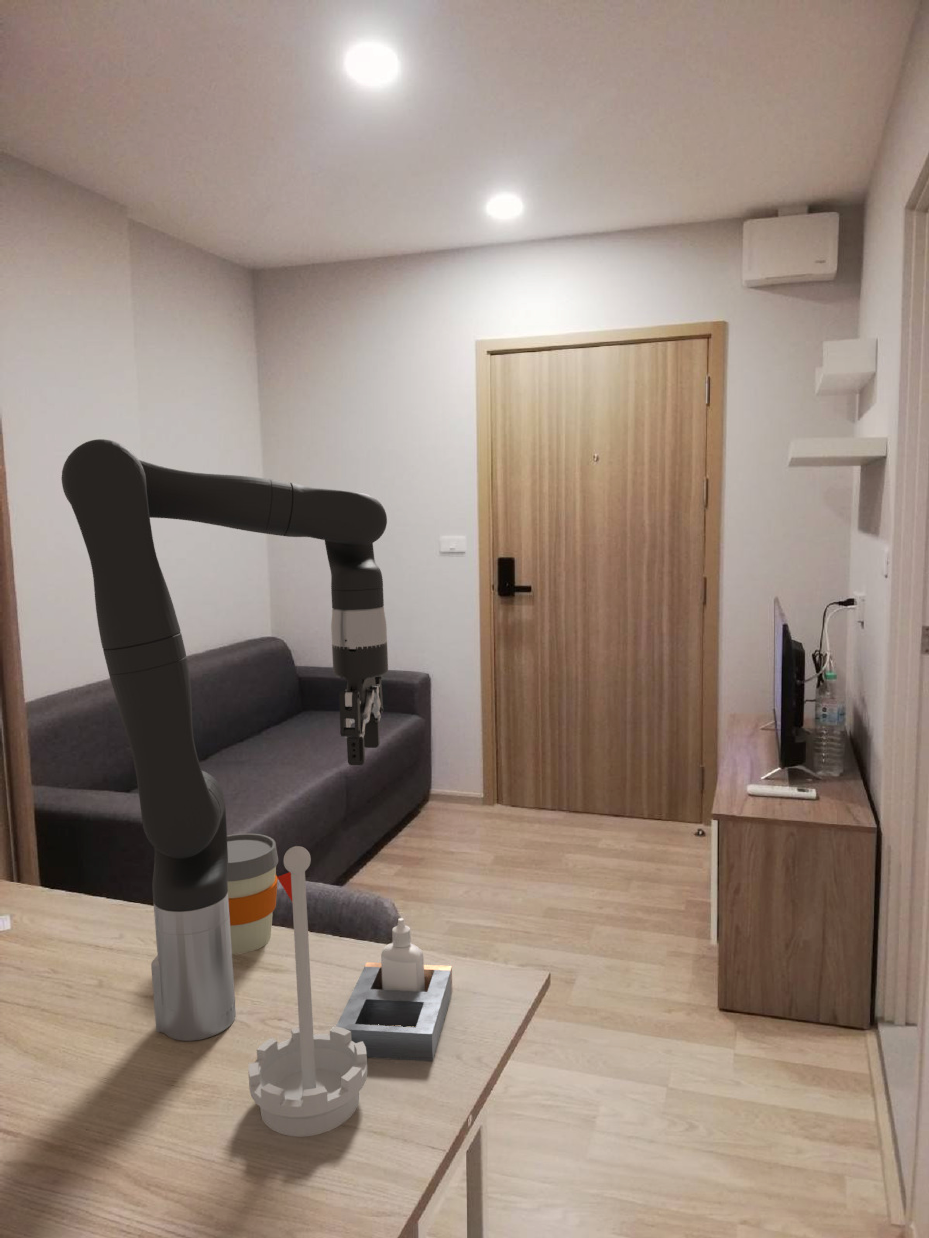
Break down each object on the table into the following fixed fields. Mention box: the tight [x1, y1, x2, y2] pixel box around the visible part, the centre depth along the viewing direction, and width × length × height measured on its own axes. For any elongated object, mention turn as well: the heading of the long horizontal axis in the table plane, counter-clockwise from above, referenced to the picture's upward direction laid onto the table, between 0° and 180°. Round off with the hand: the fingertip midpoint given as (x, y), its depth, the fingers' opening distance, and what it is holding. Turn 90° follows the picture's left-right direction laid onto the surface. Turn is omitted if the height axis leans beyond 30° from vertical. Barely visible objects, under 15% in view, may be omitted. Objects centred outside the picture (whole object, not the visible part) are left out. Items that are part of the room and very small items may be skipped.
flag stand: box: [247, 845, 368, 1137], centre depth 99 cm, size 13×13×30 cm
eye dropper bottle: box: [380, 917, 425, 992], centre depth 119 cm, size 4×6×12 cm
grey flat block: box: [335, 961, 454, 1062], centre depth 116 cm, size 12×16×4 cm
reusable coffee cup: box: [227, 833, 279, 955], centre depth 138 cm, size 13×13×15 cm
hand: (364, 755), depth 124 cm, fingers open, 8 cm apart
